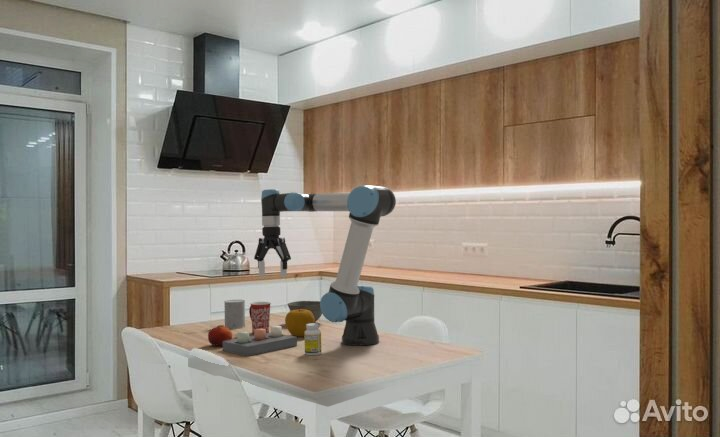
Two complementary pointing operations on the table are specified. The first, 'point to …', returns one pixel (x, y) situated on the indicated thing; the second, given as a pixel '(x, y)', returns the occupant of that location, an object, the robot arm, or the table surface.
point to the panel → (259, 345)
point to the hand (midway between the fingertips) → (272, 277)
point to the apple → (298, 321)
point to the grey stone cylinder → (234, 314)
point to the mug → (260, 315)
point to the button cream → (276, 331)
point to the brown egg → (260, 334)
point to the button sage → (243, 337)
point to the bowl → (307, 307)
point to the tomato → (219, 335)
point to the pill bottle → (312, 339)
